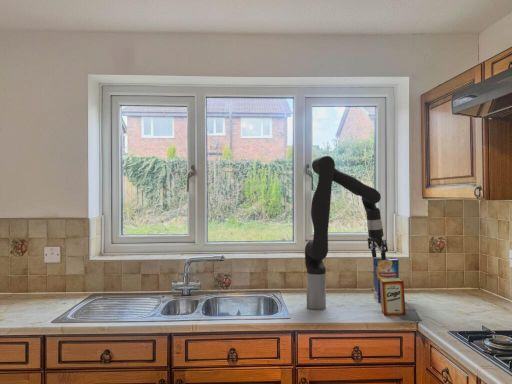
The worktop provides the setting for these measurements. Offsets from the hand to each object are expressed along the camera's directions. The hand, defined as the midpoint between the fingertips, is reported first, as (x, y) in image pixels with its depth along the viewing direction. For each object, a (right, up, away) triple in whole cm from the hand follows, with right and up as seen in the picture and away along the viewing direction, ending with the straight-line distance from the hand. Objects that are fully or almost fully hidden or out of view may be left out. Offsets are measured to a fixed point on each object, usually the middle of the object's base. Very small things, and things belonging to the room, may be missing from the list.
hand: (379, 258), depth 214 cm
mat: (+7, -22, -23) cm, 33 cm away
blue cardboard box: (+4, -23, +1) cm, 23 cm away
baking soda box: (0, -22, -22) cm, 31 cm away
